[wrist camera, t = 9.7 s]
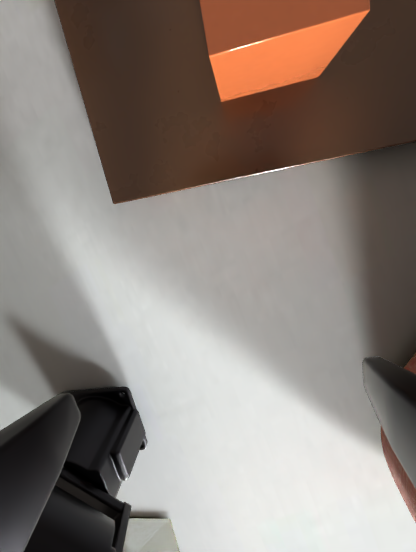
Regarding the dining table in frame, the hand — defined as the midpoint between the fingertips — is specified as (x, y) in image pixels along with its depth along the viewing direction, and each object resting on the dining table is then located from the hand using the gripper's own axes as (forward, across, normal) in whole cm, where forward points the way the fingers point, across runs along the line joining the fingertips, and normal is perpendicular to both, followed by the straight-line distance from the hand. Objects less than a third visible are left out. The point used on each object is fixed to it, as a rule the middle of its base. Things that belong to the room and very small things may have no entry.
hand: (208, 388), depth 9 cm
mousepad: (+13, +23, +32) cm, 42 cm away
